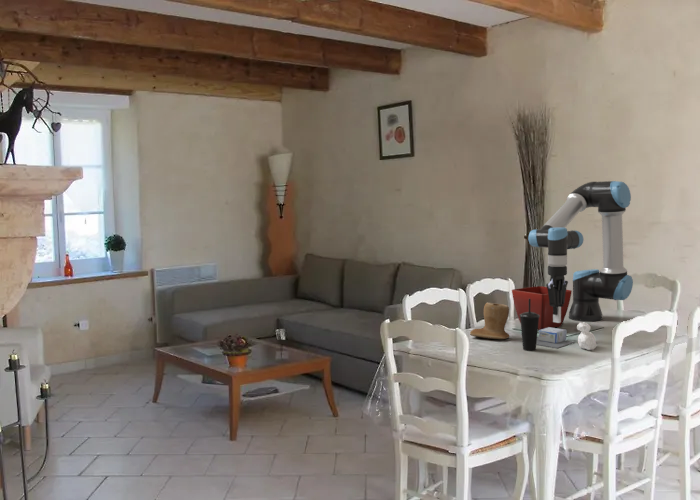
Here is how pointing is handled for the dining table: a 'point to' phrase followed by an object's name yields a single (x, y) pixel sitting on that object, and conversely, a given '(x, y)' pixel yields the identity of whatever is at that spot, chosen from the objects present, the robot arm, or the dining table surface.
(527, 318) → the drinking cup
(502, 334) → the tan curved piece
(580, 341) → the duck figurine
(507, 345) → the dining table surface
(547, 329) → the medicine box
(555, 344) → the mat
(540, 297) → the plant pot
